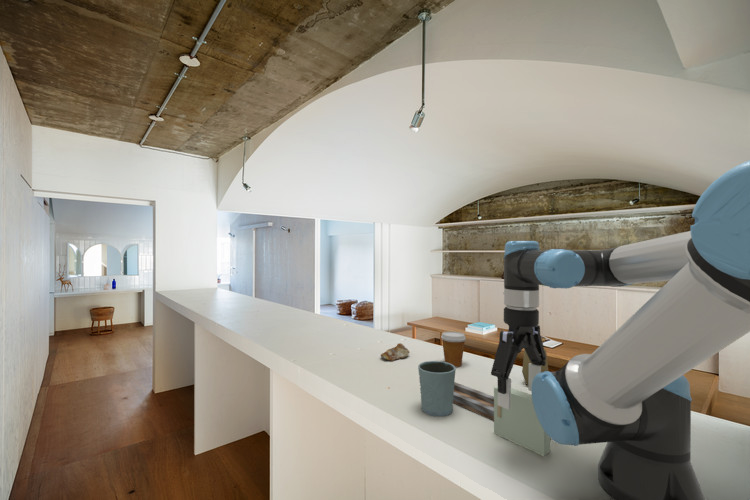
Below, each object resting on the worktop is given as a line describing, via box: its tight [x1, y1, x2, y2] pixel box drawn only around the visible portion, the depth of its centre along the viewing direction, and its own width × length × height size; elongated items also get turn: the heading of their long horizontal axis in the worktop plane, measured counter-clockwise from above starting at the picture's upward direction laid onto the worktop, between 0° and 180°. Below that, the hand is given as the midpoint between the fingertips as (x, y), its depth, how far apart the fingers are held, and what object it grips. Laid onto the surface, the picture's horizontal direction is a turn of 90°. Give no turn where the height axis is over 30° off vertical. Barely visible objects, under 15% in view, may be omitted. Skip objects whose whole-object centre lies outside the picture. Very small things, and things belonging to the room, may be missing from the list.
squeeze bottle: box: [521, 341, 549, 386], centre depth 114 cm, size 8×8×18 cm
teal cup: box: [418, 360, 457, 417], centre depth 95 cm, size 10×10×12 cm
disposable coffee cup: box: [440, 331, 467, 368], centre depth 134 cm, size 10×10×12 cm
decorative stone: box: [380, 343, 411, 362], centre depth 143 cm, size 10×4×15 cm
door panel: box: [493, 385, 552, 457], centre depth 79 cm, size 12×3×11 cm, turn 39°
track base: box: [453, 381, 494, 421], centre depth 99 cm, size 24×8×2 cm, turn 39°
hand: (520, 399), depth 80 cm, fingers open, 13 cm apart
